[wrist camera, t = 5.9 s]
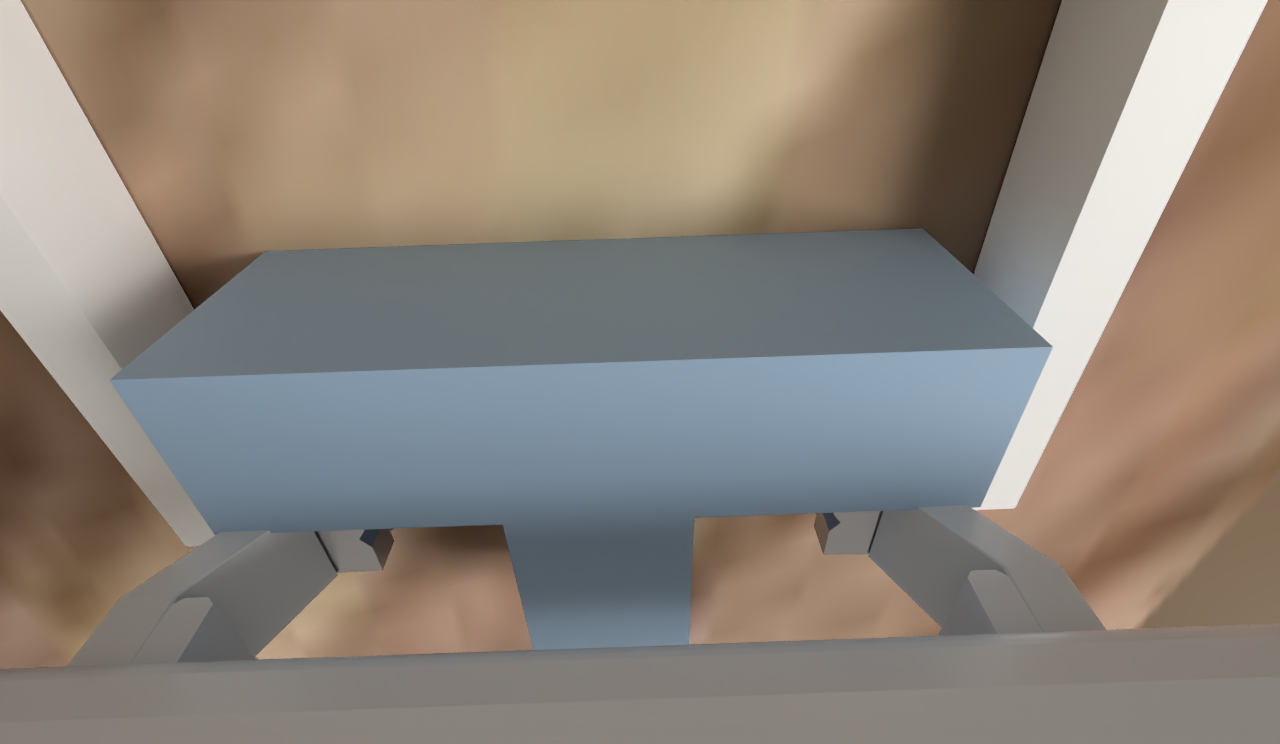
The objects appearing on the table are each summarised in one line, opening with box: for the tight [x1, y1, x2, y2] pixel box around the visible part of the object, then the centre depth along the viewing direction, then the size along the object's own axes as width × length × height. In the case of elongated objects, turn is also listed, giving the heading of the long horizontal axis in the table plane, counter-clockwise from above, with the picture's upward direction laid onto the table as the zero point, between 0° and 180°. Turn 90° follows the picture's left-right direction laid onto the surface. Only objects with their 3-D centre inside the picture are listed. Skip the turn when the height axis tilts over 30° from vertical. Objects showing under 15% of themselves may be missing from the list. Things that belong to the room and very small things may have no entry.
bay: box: [0, 0, 1268, 547], centre depth 10 cm, size 17×12×2 cm, turn 92°
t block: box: [109, 228, 1053, 650], centre depth 12 cm, size 12×9×4 cm
